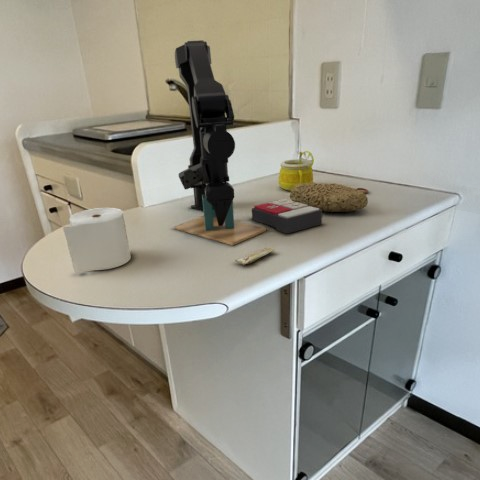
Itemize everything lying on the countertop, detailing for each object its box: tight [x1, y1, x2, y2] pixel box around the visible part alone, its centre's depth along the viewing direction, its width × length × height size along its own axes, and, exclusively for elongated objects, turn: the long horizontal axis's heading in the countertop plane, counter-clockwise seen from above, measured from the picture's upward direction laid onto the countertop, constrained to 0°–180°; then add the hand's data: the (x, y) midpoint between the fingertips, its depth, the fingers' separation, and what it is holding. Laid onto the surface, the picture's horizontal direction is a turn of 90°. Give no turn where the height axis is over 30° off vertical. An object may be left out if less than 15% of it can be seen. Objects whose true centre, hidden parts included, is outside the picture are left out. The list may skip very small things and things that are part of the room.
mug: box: [278, 150, 314, 192], centre depth 136 cm, size 13×11×12 cm
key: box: [356, 187, 369, 194], centre depth 127 cm, size 6×1×15 cm
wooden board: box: [174, 215, 267, 246], centre depth 108 cm, size 20×12×1 cm, turn 48°
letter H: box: [202, 194, 235, 231], centre depth 106 cm, size 3×7×8 cm, turn 98°
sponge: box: [289, 181, 369, 213], centre depth 117 cm, size 13×8×20 cm
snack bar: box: [234, 247, 276, 266], centre depth 91 cm, size 10×2×3 cm
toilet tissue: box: [62, 207, 132, 273], centre depth 91 cm, size 11×12×10 cm
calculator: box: [251, 198, 323, 234], centre depth 110 cm, size 11×4×15 cm
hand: (218, 219), depth 107 cm, fingers open, 9 cm apart
